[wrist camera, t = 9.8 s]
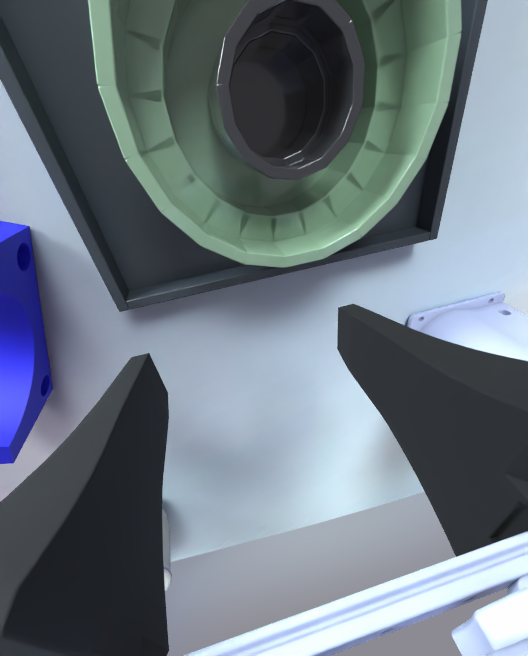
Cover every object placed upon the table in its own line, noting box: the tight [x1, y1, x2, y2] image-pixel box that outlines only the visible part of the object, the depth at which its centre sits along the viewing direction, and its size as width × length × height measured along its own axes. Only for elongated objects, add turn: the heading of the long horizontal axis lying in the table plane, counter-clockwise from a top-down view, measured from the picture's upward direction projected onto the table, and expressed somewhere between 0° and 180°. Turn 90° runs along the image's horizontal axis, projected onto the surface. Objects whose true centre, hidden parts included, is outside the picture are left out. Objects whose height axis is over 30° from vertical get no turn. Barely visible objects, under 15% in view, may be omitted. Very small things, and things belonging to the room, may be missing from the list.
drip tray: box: [0, 0, 488, 312], centre depth 14 cm, size 21×17×2 cm
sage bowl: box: [88, 0, 462, 268], centre depth 13 cm, size 13×13×6 cm
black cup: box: [208, 0, 365, 180], centre depth 12 cm, size 6×6×5 cm
